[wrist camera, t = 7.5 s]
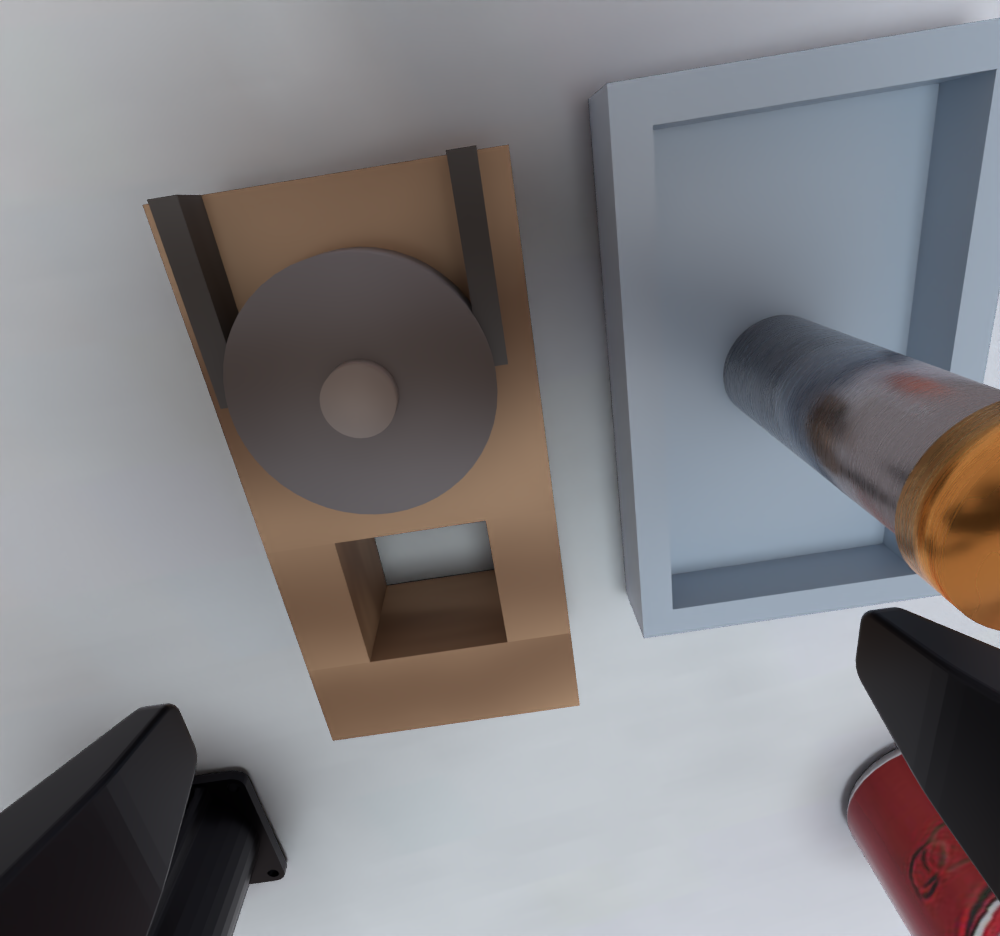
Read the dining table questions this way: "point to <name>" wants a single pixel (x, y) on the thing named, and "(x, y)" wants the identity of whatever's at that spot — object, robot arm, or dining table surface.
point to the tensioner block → (385, 426)
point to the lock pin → (886, 444)
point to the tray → (783, 297)
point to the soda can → (918, 855)
